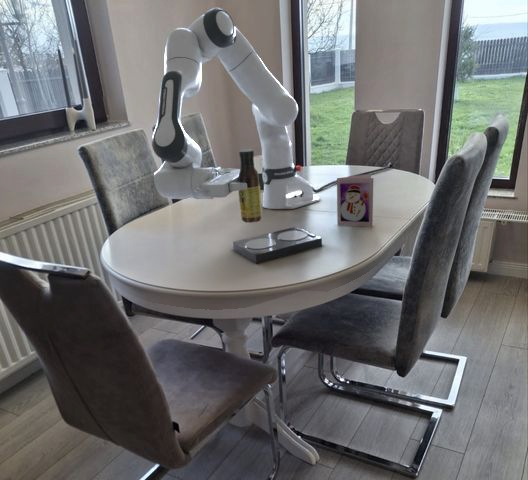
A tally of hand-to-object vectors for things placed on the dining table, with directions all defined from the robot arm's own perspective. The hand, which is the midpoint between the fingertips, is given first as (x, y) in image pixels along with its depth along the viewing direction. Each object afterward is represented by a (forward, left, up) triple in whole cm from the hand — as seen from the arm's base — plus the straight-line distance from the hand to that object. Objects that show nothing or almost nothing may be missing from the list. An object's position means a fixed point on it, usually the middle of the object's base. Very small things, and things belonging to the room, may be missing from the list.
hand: (251, 182), depth 145 cm
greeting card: (-36, +2, -19) cm, 41 cm away
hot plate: (-4, +5, -19) cm, 20 cm away
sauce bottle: (+1, -1, -11) cm, 11 cm away
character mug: (-38, -70, -19) cm, 82 cm away
